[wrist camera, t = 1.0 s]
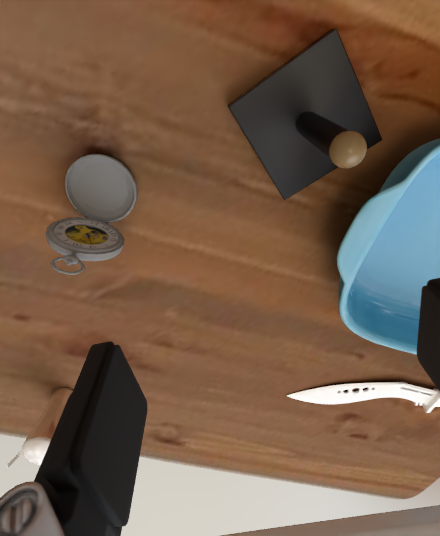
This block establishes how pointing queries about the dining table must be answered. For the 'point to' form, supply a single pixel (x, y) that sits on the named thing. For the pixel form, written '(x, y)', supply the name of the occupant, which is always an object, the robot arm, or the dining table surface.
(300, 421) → the dining table surface
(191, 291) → the dining table surface
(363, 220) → the casserole dish
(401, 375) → the dining table surface
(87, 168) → the pocket watch
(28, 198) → the dining table surface
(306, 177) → the stand
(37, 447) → the milkshake
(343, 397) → the knife
